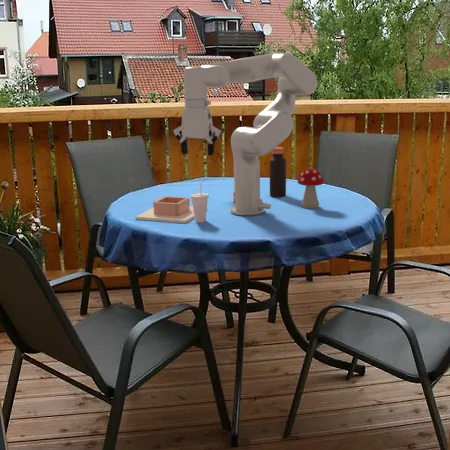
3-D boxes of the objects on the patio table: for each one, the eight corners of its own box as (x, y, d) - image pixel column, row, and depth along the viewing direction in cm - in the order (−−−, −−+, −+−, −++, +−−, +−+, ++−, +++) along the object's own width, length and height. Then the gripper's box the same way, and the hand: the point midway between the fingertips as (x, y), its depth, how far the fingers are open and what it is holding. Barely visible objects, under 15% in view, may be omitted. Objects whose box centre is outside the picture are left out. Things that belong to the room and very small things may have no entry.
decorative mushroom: (324, 204, 232) (325, 166, 228) (322, 210, 224) (322, 170, 220) (299, 203, 235) (299, 166, 231) (295, 209, 227) (295, 170, 223)
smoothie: (207, 223, 210) (205, 184, 206) (189, 223, 211) (187, 184, 208) (211, 219, 216) (210, 181, 212) (194, 218, 217) (192, 180, 214)
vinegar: (288, 196, 247) (289, 148, 242) (274, 198, 245) (274, 149, 239) (281, 193, 253) (281, 146, 248) (266, 195, 251) (266, 147, 245)
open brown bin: (207, 209, 230) (206, 195, 228) (185, 223, 212) (185, 208, 210) (160, 206, 236) (159, 192, 235) (135, 219, 218) (134, 204, 217)
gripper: (223, 103, 203) (224, 153, 208) (177, 103, 209) (179, 152, 214) (215, 105, 196) (217, 157, 201) (168, 105, 202) (170, 155, 207)
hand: (197, 154), depth 207 cm, fingers open, 9 cm apart
